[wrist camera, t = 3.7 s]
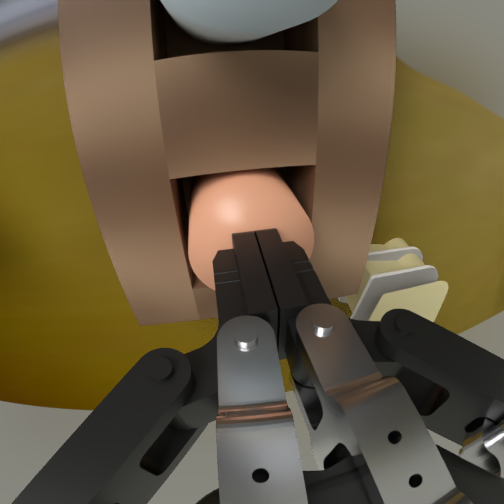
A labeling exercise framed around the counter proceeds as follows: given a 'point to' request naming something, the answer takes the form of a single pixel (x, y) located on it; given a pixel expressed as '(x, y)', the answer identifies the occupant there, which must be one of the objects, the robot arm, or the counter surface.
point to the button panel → (226, 134)
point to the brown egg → (241, 214)
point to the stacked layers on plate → (396, 284)
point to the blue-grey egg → (241, 18)
